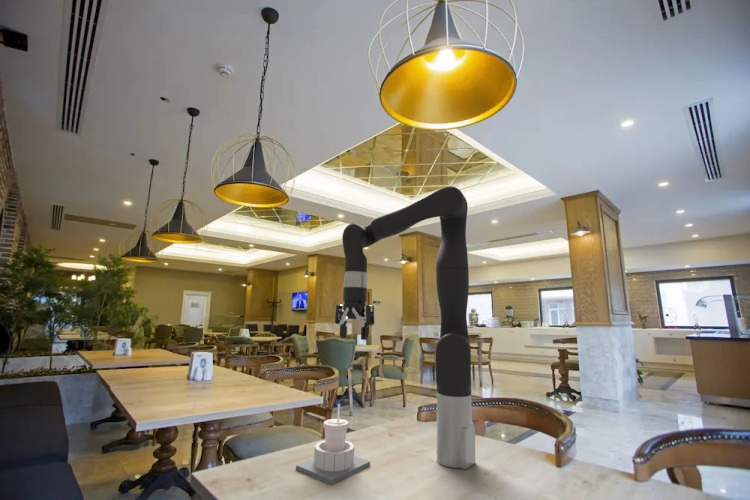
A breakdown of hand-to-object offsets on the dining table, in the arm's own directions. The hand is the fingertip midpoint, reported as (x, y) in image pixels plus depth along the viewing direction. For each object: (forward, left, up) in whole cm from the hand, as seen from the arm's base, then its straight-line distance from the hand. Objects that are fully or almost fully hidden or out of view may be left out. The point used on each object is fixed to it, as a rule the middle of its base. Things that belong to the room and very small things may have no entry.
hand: (353, 338), depth 115 cm
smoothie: (-9, +16, -29) cm, 35 cm away
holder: (-9, +16, -30) cm, 35 cm away
